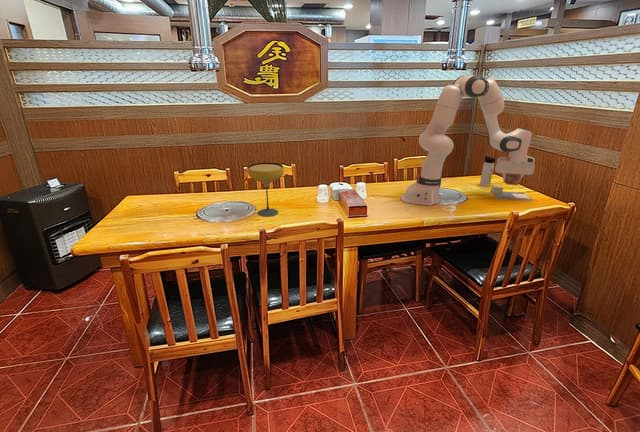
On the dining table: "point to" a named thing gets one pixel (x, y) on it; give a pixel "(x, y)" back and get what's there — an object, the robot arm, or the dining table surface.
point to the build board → (513, 196)
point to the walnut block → (512, 179)
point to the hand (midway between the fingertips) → (511, 180)
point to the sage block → (497, 189)
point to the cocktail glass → (266, 180)
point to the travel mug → (487, 171)
